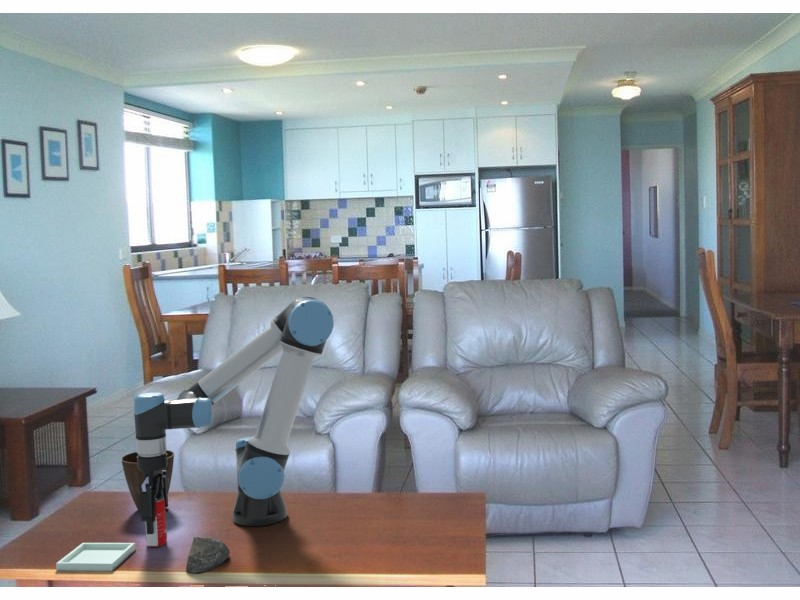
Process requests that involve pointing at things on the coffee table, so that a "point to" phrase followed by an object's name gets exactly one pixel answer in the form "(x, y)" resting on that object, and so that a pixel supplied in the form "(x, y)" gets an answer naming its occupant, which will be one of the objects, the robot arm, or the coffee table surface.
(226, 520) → the coffee table surface
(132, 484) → the plant pot
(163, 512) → the beverage can
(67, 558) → the tray
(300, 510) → the coffee table surface
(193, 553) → the rock
